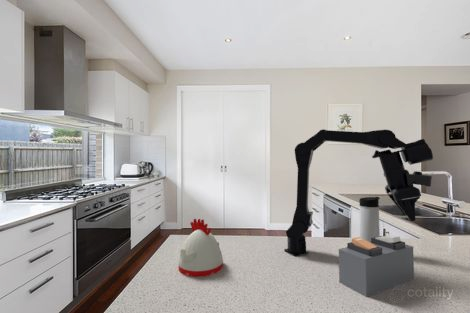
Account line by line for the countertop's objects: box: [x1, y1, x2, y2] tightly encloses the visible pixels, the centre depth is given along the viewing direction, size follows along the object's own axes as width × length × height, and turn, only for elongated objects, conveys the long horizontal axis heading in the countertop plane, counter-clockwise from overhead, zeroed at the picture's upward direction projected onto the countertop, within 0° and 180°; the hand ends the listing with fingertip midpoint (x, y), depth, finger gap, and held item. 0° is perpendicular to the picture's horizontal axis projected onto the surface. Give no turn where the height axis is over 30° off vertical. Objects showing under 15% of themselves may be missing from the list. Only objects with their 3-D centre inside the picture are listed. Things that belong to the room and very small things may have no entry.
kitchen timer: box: [178, 218, 224, 278], centre depth 78 cm, size 14×14×15 cm
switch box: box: [338, 235, 415, 297], centre depth 68 cm, size 8×20×10 cm, turn 116°
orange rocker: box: [350, 236, 377, 250], centre depth 66 cm, size 5×3×1 cm, turn 26°
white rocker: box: [375, 235, 401, 243], centre depth 70 cm, size 5×3×1 cm, turn 26°
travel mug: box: [358, 196, 381, 242], centre depth 89 cm, size 6×7×20 cm
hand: (409, 217), depth 76 cm, fingers open, 9 cm apart
